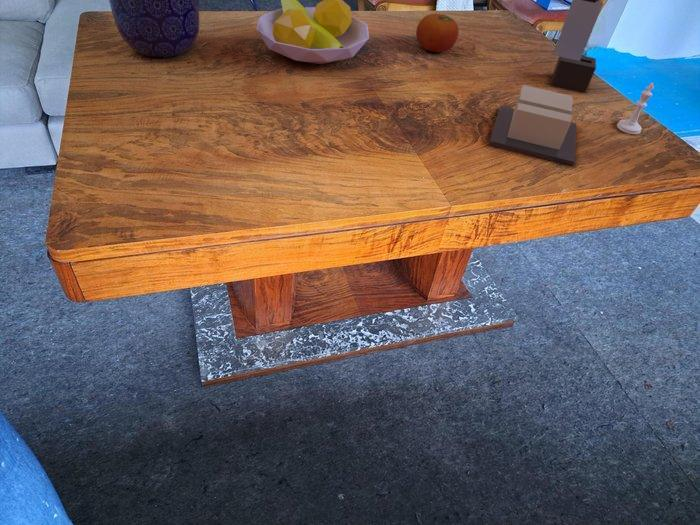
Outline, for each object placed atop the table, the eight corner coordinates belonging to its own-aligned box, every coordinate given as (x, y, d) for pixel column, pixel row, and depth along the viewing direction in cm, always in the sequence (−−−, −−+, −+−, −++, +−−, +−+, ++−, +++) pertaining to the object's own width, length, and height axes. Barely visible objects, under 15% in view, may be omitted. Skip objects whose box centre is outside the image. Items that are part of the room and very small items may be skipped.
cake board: (574, 127, 107) (576, 123, 106) (572, 166, 96) (574, 161, 95) (499, 109, 110) (500, 105, 109) (488, 145, 98) (490, 140, 98)
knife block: (585, 82, 124) (595, 58, 119) (585, 92, 119) (596, 67, 115) (552, 75, 125) (561, 51, 121) (550, 85, 121) (560, 60, 117)
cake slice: (559, 142, 99) (571, 114, 95) (559, 150, 97) (571, 122, 93) (508, 130, 101) (518, 102, 97) (507, 137, 99) (516, 109, 95)
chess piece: (645, 133, 108) (670, 88, 101) (627, 135, 106) (651, 90, 99) (629, 121, 111) (652, 77, 104) (611, 123, 109) (633, 79, 102)
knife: (580, 58, 95) (622, -45, 83) (579, 62, 93) (622, -42, 81) (552, 52, 95) (590, -51, 84) (552, 56, 94) (590, -48, 82)
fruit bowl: (384, 71, 118) (391, 20, 110) (269, 79, 110) (268, 25, 102) (345, 26, 137) (349, -21, 129) (244, 30, 129) (241, -19, 121)
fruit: (405, 43, 132) (411, 11, 126) (437, 39, 136) (444, 7, 130) (430, 60, 125) (436, 26, 120) (462, 54, 129) (470, 22, 124)
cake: (561, 123, 105) (572, 95, 101) (560, 139, 101) (572, 111, 96) (513, 111, 107) (522, 84, 103) (509, 126, 102) (519, 99, 98)
